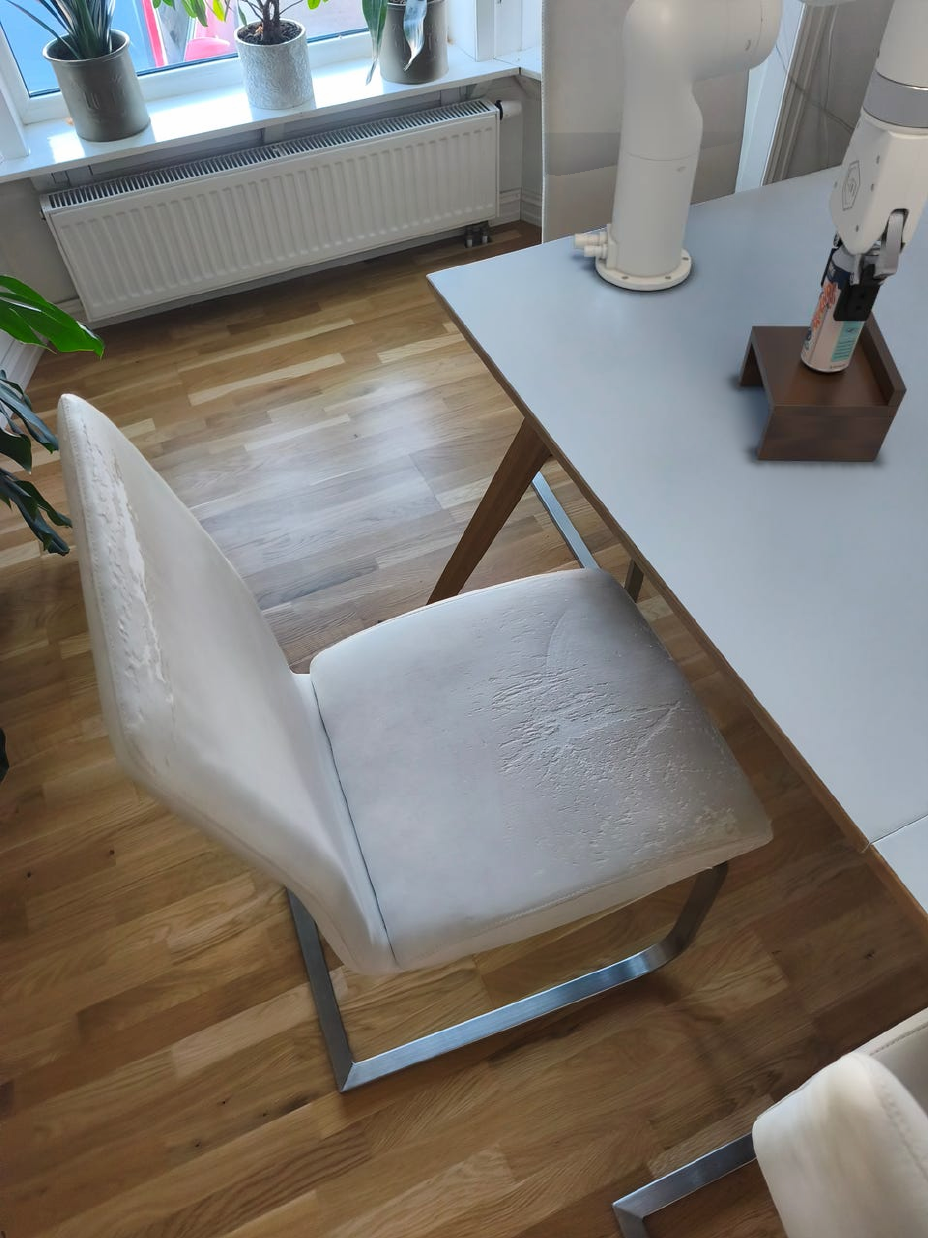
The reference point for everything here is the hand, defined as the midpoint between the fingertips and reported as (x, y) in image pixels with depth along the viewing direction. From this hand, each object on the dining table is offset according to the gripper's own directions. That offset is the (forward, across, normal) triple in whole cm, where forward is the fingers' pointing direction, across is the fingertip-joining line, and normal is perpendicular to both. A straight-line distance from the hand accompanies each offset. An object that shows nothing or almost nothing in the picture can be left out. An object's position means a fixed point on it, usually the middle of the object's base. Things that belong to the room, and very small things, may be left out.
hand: (843, 301), depth 82 cm
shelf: (+14, 0, 0) cm, 14 cm away
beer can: (+7, 0, 0) cm, 7 cm away
